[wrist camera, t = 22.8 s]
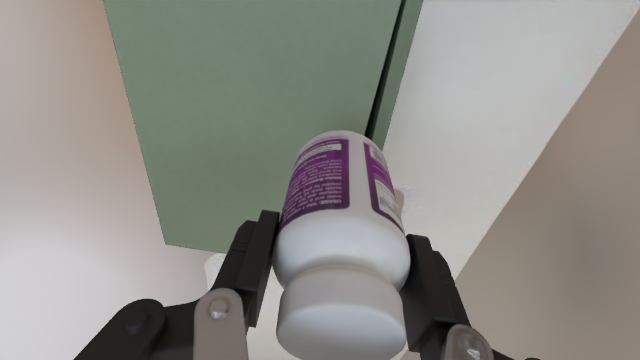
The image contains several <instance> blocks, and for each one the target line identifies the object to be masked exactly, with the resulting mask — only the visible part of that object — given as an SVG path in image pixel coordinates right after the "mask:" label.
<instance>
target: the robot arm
mask: <svg viewBox="0 0 640 360" xmlns="http://www.w3.org/2000/svg"><path fill="white" fill-rule="evenodd" d="M279 220H280V212H275V211H269V210H262V211H261V214H260V216H259V219H258V222H257V221H251V220H246V221H245V222H244V223H243V224H242V225H241V226H240V227H239V228H238V230H237V232H236V234H235V236H234V239H233V241H232V243H231V246H230V249H229V250H228V253H227V255H226V257H225V260H224V262H223V264H222V266H221V269H220V271H219V273H218V276H217V278H216V280H215V283H214V285H213V286H212V288H211V289H210V290H209V291H208V293H206V294H205V295H204V296H203V297H201V298H200V299H198V300H196V301H194V302H190V303H186V304H181V305H175V306H169V307H163V305H162V304H161V303H160V302H158V301H156V300H153V299H141V300H137V301H134V302H132V303H129V304H128V305H126V306H124V307H123V308H122V309H121V310H119V311H118V312H117V313H116V314H115V315H114V317H113V318H112V319H111V320H110V321H109V322H108V323H107V324H106V325H105V326H104V327H103V328H102V329H101V331H100V332H99V333H98V334H97V335H96V336H95V337H94V338H93V339H92V340H91V341H90V342H89V343H88V345H87V346H86V347H85V348H84V349H83V350H82V351H81V352H80V353H79V354H78V356H76V357H75V359H74V360H249V359H248V350H247V341H246V335H247V332H248V328H249V327H255V328H256V324H257V320H258V317H259V313H260V309H261V305H262V301H263V297H264V293H265V289H266V285H267V281H268V277H269V274H270V270H271V266H272V253H273V244H274V241H275V238H276V232H277V229H278V226H279ZM406 239H407V242H408V245H409V252H410V271H409V275H408V278H407V280H406V282H405V284H404V286H403V287H402V288H401V290H400V291H399V295H400V297H401V300H402V303H403V315H404V322H405V329H406V337H407V342H408V348H409V351H412V352H418V353H420V357H421V360H514V359H512V358H509V357H507V356H505V355H503V354H501V353H499V352H497V351H495V350H493V349H492V348H491V347H490V345H489V344H488V342H487V341H486V340H485V338H484V337H483V336H482V335H481V334H480V333H479V332H477V331H476V330H475V329H473V328H472V327H471V325H470V323H469V320H468V317H467V314H466V312H465V309H464V307H463V304H462V301H461V298H460V296H459V293H458V291H457V288H456V287H455V282H454V280H453V277H451V272H450V269H449V266H448V264H447V262H446V260H445V259H444V258H443V257H442V255H441V254H440V253H439V252H438V251H433V250H432V247H431V244H430V241H429V239H428V237H425V236H419V235H413V234H408V235H407V236H406ZM525 360H540V359H537V358H527V359H525Z"/></svg>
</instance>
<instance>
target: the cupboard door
mask: <svg viewBox="0 0 640 360" xmlns="http://www.w3.org/2000/svg"><path fill="white" fill-rule="evenodd" d="M422 3H423V0H401V4H400V8H399V11H398V15H397V18H396V22H395V26H394V29H393V33H392V36H391V40H390V44H389V47H388V51H387V54H386V58H385V62H384V65H383V69H382V73H381V76H380V80H379V83H378V87H377V91H376V94H375V98H374V101H373V105H372V109H371V112H370V116H369V119H368V123H367V127H366V130H365V134H364V136H365V137H367V138H368V139H370V140H371V141H372V142H373V143H374V144H375V145H376V146H377V147H378V148H379V149H380V150H381V152H382V149H383V146H384V142H385V138H386V135H387V131H388V127H389V124H390V120H391V116H392V113H393V109H394V105H395V102H396V98H397V94H398V91H399V87H400V84H401V80H402V76H403V73H404V69H405V65H406V62H407V58H408V54H409V51H410V47H411V43H412V40H413V36H414V32H415V29H416V25H417V22H418V18H419V14H420V11H421V7H422Z"/></svg>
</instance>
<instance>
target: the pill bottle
mask: <svg viewBox="0 0 640 360" xmlns="http://www.w3.org/2000/svg"><path fill="white" fill-rule="evenodd" d="M272 263H273V269H274V272H275V275H276V277H277V279H278V281H279V283H280V285H281V286H282V287H283V289H284V291H283V293H282V296H281V299H280V306H279V313H278V321H277V328H276V336H277V339H278V341H279V343H280V344H281V346H282V347H283V348H284V349H285V350H286V351H287V352H289V353H290V354H292V355H293V356H295V357H297V358H299V359H302V360H389V359H391V358H392V357H394V356H396V355H397V354H398V353H399V352H401V351H402V349H403V348H404V346H405V344H406V339H407V337H406V329H405V322H404V315H403V303H402V300H401V297H400V295H399V294H398V292H399V291H400V290H401V288H402V287H403V286H404V284H405V282H406V280H407V278H408V275H409V271H410V252H409V245H408V242H407V239H406V236H405V231H404V228H403V224H402V220H401V217H400V213H399V209H398V205H397V201H396V198H395V194H394V190H393V186H392V182H391V178H390V175H389V171H388V167H387V163H386V160H385V158H384V156H383V154H382V152H381V150H380V149H379V148H378V147H377V146H376V145H375V144H374V143H373V142H372V141H371V140H370V139H368V138H367V137H365V136H364V135H362V134H358V133H355V132H352V131H346V130H338V131H329V132H325V133H322V134H320V135H318V136H316V137H314V138H313V139H311V140H310V141H308V142H307V143H306V144H305V145H304V146H303V147H302V148H301V150H300V151H299V153H298V155H297V157H296V160H295V163H294V167H293V171H292V174H291V178H290V182H289V186H288V190H287V194H286V198H285V202H284V205H283V209H282V213H281V218H280V222H279V226H278V229H277V232H276V238H275V241H274V244H273V253H272Z"/></svg>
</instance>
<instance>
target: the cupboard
mask: <svg viewBox="0 0 640 360" xmlns="http://www.w3.org/2000/svg"><path fill="white" fill-rule="evenodd" d="M103 3H104V7H105V10H106V14H107V18H108V22H109V26H110V30H111V34H112V37H113V42H114V46H115V50H116V53H117V57H118V61H119V65H120V69H121V73H122V77H123V80H124V85H125V88H126V92H127V96H128V100H129V104H130V108H131V112H132V116H133V119H134V124H135V128H136V132H137V135H138V139H139V143H140V147H141V151H142V155H143V159H144V162H145V166H146V171H147V174H148V178H149V182H150V186H151V190H152V194H153V198H154V201H155V206H156V210H157V213H158V217H159V221H160V225H161V229H162V233H163V237H164V241H165V244H166V245H173V246H179V247H185V248H192V249H198V250H205V251H211V252H218V253H224V254H227V253H228V250H229V249H230V246H231V243H232V241H233V239H234V236H235V234H236V232H237V230H238V228H239V227H240V226H241V225H242V224H243V223H244V222H245V221H246V220H251V221H257V222H258V219H259V216H260V214H261V211H262V210H269V211H275V212H280V218H281V213H282V209H283V205H284V202H285V198H286V194H287V190H288V186H289V182H290V178H291V174H292V171H293V167H294V163H295V160H296V157H297V155H298V153H299V151H300V150H301V148H302V147H303V146H304V145H305V144H306V143H307V142H308V141H310V140H311V139H313V138H314V137H316V136H318V135H320V134H322V133H325V132H329V131H338V130H346V131H352V132H355V133H358V134H362V135H364V134H365V130H366V127H367V123H368V119H369V116H370V112H371V109H372V105H373V101H374V98H375V94H376V91H377V87H378V83H379V80H380V76H381V73H382V69H383V65H384V62H385V58H386V54H387V51H388V47H389V44H390V40H391V36H392V33H393V29H394V26H395V22H396V18H397V15H398V11H399V8H400V4H401V0H103ZM279 222H280V220H279Z"/></svg>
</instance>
